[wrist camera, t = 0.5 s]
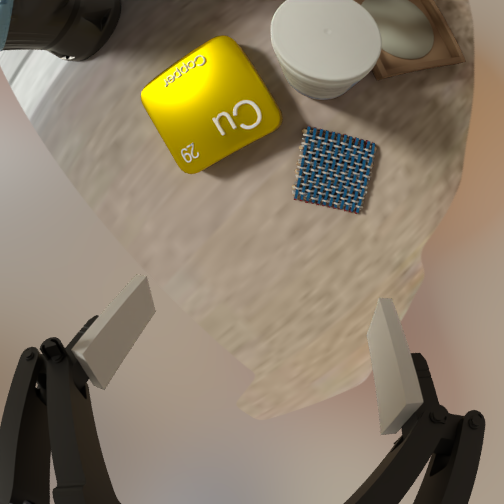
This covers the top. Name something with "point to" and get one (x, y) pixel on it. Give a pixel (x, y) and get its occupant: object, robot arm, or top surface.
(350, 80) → the supplement tub
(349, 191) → the woven mat
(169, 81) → the element tile
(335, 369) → the top surface
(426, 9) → the crate
